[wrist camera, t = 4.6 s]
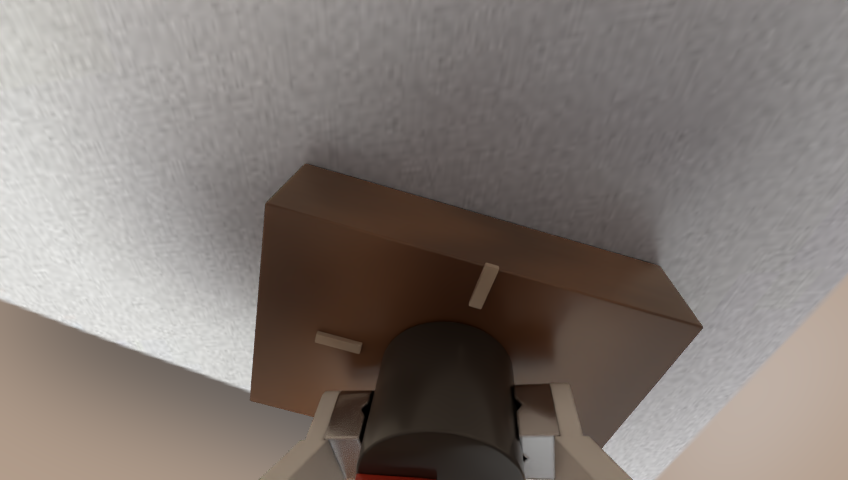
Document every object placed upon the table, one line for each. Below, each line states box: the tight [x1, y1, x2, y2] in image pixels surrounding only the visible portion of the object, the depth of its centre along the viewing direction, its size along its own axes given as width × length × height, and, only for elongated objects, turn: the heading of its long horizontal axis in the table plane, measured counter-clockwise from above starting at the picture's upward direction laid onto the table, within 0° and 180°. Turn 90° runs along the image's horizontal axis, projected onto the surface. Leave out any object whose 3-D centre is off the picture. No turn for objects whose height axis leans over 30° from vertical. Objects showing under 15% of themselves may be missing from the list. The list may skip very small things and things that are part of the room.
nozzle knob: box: [355, 322, 526, 480], centre depth 11 cm, size 4×4×4 cm
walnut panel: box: [250, 164, 703, 449], centre depth 14 cm, size 12×8×3 cm
